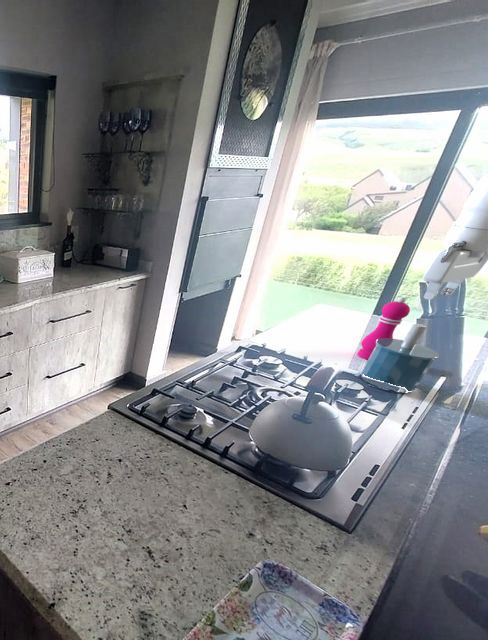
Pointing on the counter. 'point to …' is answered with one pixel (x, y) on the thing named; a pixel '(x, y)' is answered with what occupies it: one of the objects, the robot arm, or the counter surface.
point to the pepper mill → (385, 325)
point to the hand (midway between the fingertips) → (437, 297)
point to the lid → (409, 345)
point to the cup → (395, 368)
